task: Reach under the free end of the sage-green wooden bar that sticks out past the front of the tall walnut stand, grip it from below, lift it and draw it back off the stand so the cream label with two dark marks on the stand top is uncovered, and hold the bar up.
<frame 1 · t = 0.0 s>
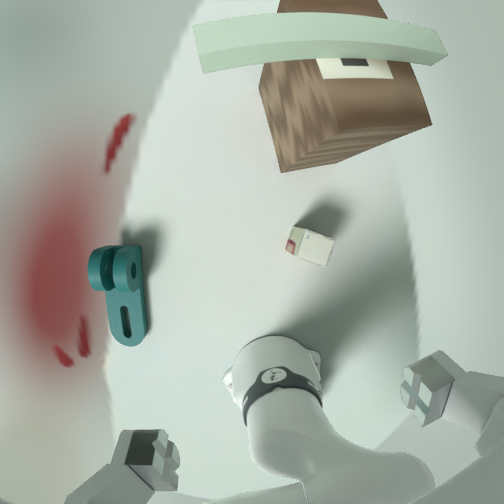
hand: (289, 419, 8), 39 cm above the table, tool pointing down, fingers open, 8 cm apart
stand: (297, 123, 43), on the table
small box: (302, 242, 47), on the table
bracket: (127, 295, 46), on the table
bar: (332, 44, 18), point 26 cm above the table, touching stand
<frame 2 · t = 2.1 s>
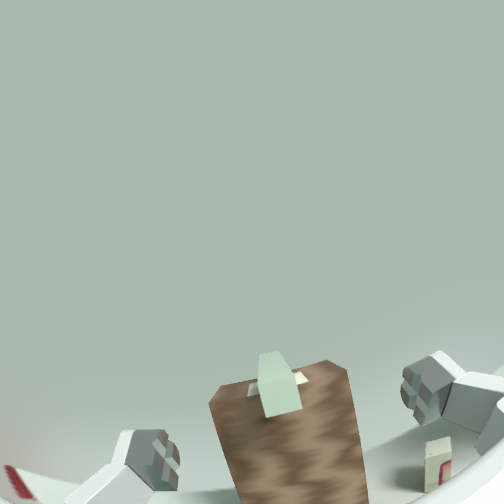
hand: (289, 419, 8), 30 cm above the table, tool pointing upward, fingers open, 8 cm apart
small box: (437, 482, 23), on the table
bar: (277, 385, 30), point 26 cm above the table, touching stand
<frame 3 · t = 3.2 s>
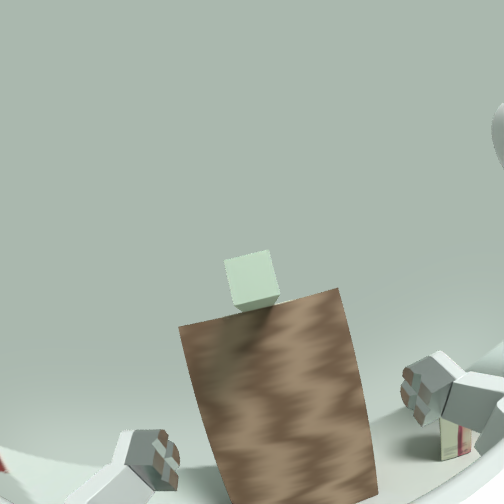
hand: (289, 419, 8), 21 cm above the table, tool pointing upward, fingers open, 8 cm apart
stand: (306, 496, 24), on the table
small box: (455, 449, 21), on the table
bar: (258, 309, 28), point 26 cm above the table, touching stand
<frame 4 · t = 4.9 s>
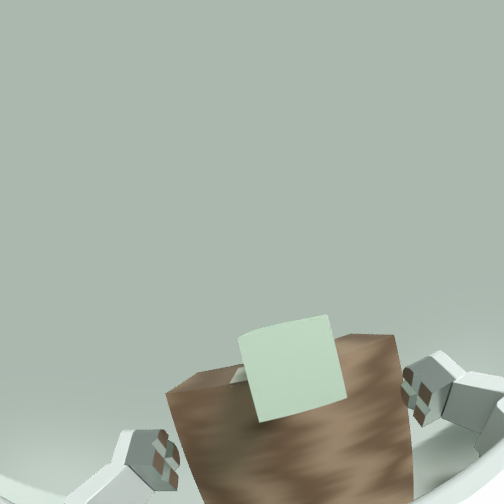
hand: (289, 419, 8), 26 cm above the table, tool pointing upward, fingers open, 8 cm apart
bar: (281, 366, 19), point 26 cm above the table, touching stand
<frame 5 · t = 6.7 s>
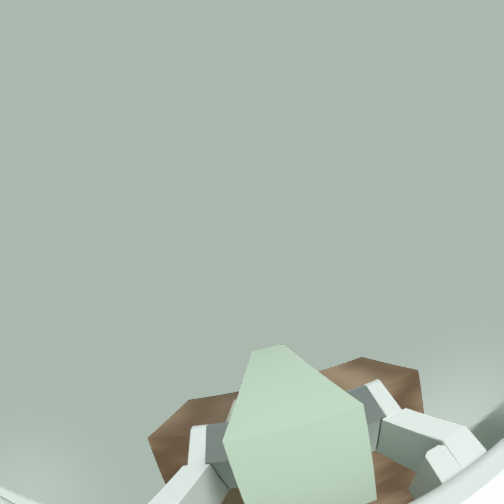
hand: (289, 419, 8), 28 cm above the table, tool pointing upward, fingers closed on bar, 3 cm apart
bar: (283, 407, 15), point 26 cm above the table, touching gripper, stand
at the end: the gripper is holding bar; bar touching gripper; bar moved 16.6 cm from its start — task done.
